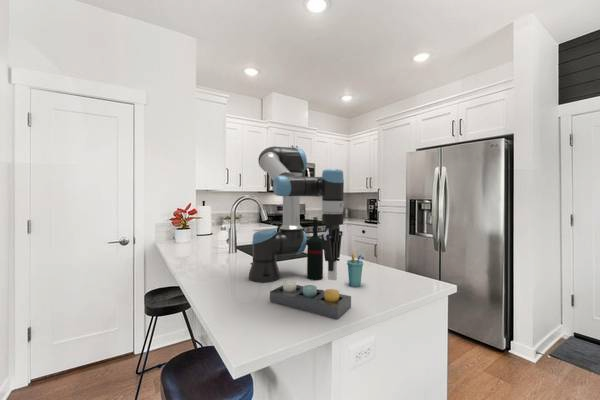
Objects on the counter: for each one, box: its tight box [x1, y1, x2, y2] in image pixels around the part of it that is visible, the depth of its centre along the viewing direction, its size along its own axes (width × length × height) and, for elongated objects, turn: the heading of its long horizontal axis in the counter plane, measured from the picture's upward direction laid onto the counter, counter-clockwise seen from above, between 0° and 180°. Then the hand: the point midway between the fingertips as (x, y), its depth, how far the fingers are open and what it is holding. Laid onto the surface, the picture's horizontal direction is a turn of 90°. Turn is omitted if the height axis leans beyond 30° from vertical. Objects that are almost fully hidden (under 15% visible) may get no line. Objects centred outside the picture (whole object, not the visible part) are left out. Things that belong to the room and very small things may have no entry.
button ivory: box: [282, 280, 297, 293], centre depth 109 cm, size 5×5×4 cm
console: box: [269, 284, 352, 320], centre depth 104 cm, size 28×12×4 cm, turn 59°
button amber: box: [323, 288, 340, 303], centre depth 100 cm, size 5×5×4 cm
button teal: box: [302, 284, 318, 298], centre depth 104 cm, size 5×5×4 cm
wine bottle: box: [306, 216, 324, 281], centre depth 138 cm, size 8×10×30 cm
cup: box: [346, 252, 365, 288], centre depth 126 cm, size 14×8×15 cm, turn 14°
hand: (332, 279), depth 99 cm, fingers closed
